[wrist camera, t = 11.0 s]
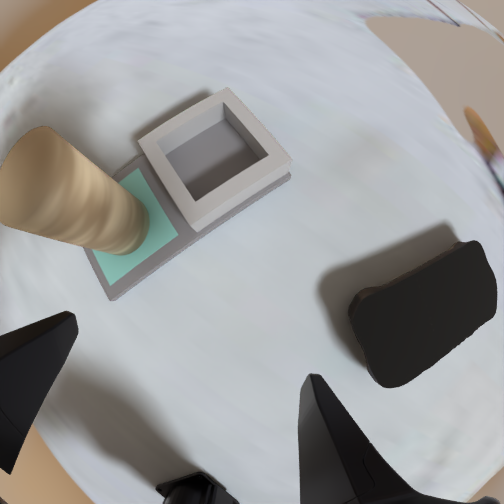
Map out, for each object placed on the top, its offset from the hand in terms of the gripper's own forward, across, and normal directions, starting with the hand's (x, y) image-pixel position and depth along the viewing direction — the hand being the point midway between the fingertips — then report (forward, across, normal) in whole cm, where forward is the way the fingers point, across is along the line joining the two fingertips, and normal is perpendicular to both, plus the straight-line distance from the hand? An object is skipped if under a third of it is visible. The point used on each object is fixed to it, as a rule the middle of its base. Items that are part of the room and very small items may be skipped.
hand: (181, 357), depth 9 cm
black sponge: (+12, -18, +3) cm, 22 cm away
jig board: (+15, +6, -2) cm, 16 cm away
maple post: (+12, +9, +1) cm, 15 cm away
